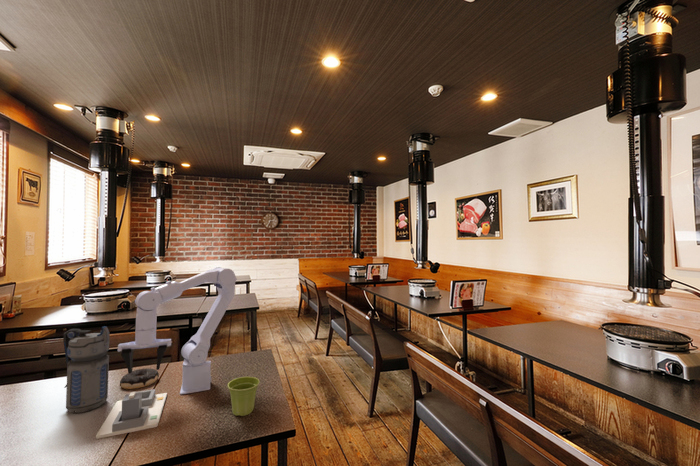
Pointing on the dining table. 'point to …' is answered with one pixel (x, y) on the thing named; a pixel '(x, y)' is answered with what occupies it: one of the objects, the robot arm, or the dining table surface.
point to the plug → (131, 406)
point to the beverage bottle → (86, 369)
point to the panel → (148, 419)
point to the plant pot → (243, 394)
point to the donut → (139, 378)
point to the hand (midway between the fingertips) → (144, 370)
